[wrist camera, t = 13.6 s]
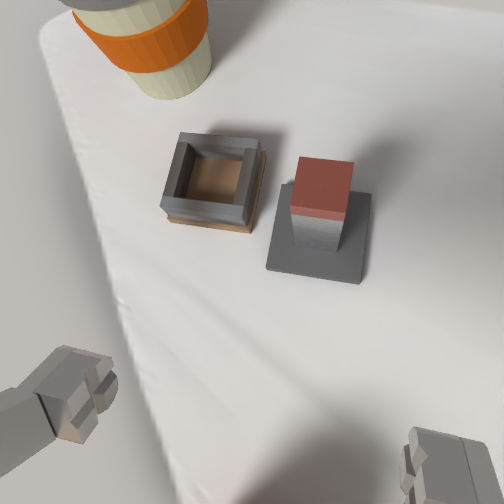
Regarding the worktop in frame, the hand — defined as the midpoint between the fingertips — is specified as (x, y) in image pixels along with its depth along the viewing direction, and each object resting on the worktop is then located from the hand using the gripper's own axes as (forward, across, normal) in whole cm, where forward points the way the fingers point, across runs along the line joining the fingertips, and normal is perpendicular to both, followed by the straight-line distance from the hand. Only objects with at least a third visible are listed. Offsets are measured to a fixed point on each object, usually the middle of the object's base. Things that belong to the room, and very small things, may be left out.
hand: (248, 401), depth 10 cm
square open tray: (+26, +10, +4) cm, 28 cm away
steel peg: (+23, 0, +6) cm, 23 cm away
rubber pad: (+23, 0, +7) cm, 24 cm away
